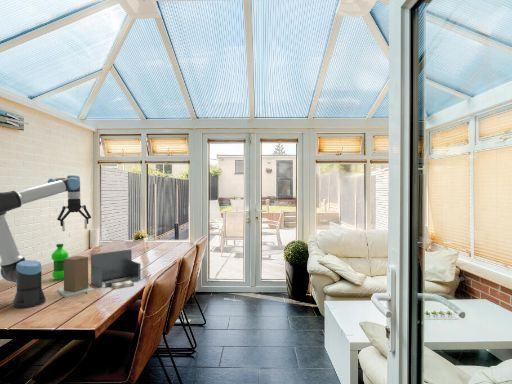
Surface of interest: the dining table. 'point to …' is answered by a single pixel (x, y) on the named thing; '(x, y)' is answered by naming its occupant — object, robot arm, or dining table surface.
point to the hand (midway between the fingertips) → (74, 230)
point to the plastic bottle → (59, 262)
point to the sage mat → (70, 293)
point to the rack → (114, 267)
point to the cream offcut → (122, 284)
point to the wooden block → (75, 273)
